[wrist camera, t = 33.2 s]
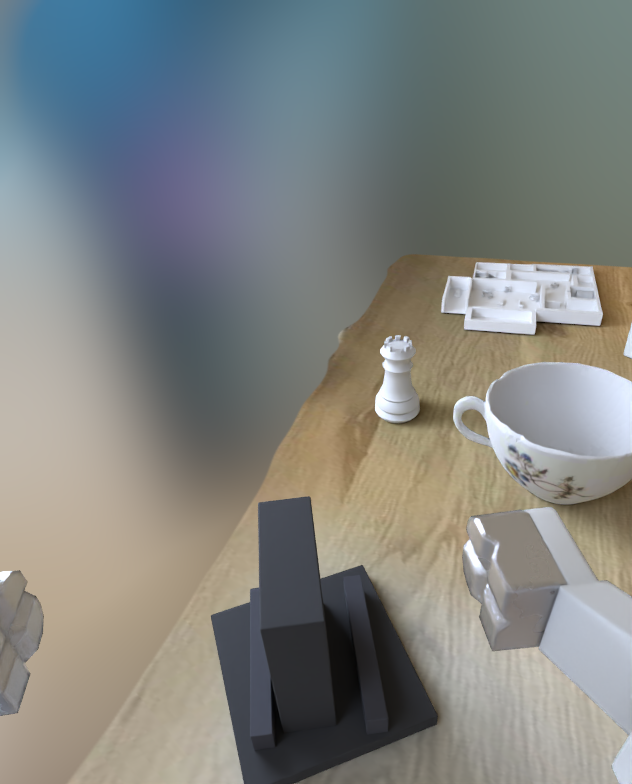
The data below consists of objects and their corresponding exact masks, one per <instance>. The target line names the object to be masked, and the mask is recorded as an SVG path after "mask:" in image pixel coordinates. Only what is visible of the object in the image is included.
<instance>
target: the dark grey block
mask: <svg viewBox="0 0 632 784" xmlns="http://www.w3.org/2000/svg"><path fill="white" fill-rule="evenodd" d="M258 528H259V600H260V632H261V637H262V641H263V645H264V650H265V654H266V658H267V663H268V667H269V671H270V676H271V680H272V684H273V689H274V693H275V697H276V702H277V706H278V711H279V715H280V719H281V724H282V728H283V732H284V733H286V732H294V731H301V730H308V729H315V728H323V727H330V726H336V725H337V721H336V712H335V703H334V694H333V685H332V676H331V667H330V658H329V649H328V640H327V631H326V623H325V614H324V606H323V598H322V589H321V581H320V573H319V564H318V556H317V548H316V540H315V531H314V523H313V515H312V506H311V498H310V497H309V496H308V497H300V498H292V499H284V500H276V501H268V502H260V503H258Z"/></svg>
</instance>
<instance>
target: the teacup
mask: <svg viewBox="0 0 632 784" xmlns="http://www.w3.org/2000/svg"><path fill="white" fill-rule="evenodd" d="M469 409H474V410H477V411H478V412H480V413H481V414H482V416H483V417H484V419H485V420H486V422H487V428H488V433H489V438H486V437H484V436H482V435H480V434H477V433H475V432H473V431H472V430H470V429H468V428H467V427H466V426H465V425H464V424H463V423H462V420H461V416H462V414H463V413H464V412H465V411H466V410H469ZM453 419H454V423H455V425H456V427H457V429H458V430H459V431H460V432H461V433H462V434H463V435H464V436H465V437H466V438H467V439H469V440H471V441H474V442H476V443H479V444H483V445H486V446H489V447H492V448H493V449H494V451H495V453H496V455H497V457H498V459H499V461H500V463H501V464H502V466H503V467H504V468H505V470H506V471H507V472H508V473H509V475H510V476H511V477H512V478H513V479H514V480H515V481H516V482H518V483H519V484H520V485H521V486H523V487H524V488H525V489H527V490H529V491H530V492H531V493H533V494H534V495H536V496H537V497H539V498H541V499H543V500H545V501H548V502H552V503H555V504H576V503H581V502H585V501H590V500H594V499H597V498H600V497H603V496H605V495H608V494H610V493H612V492H614V491H616V490H618V489H619V488H621V487H622V486H624V485H625V484H627V483H628V482H629V481H630V480H632V382H631V381H629V380H627V379H625V378H622V377H620V376H618V375H616V374H614V373H611V372H609V371H607V370H604V369H601V368H598V367H593V366H588V365H582V364H579V363H564V362H559V363H555V362H542V363H534V364H527V365H524V366H521V367H518V368H515V369H512V370H510V371H507V372H506V373H504V375H503V376H502V377H501V378H500V379H499V380H498V379H496V380H495V381H494V382H492V384H491V385H490V387H489V389H488V391H487V395H486V401H483V400H481V399H479V398H478V397H474V396H467V397H465V398H462V399H460V400H459V401H458V402H457V403H456V405H455V407H454V414H453Z"/></svg>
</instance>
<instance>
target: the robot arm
mask: <svg viewBox="0 0 632 784" xmlns="http://www.w3.org/2000/svg"><path fill="white" fill-rule="evenodd" d="M466 530H467V533H468V535H469V538H470V540H469V541H468V542H467V543H466V544H465V545H464V548H463V557H462V558H463V569H464V574H465V578H466V582H467V585H468V588H469V591H470V594H471V596H473V597H474V598H475V599H476V600H478V601H479V602H480V603H481V604H482V606H481V611H480V616H479V618H480V620H481V623H482V626H483V628H484V631H485V634H486V636H487V639H488V641H489V644H490V647H491V649H492V651H500V650H510V649H520V648H530V647H539V650H540V651H541V652H542V653H543V654H544V655H545V656H546V657H547V658H548V659H549V660H551V661H552V662H553V663H554V664H555V665H556V666H557V667H558V668H559V669H560V670H561V671H562V672H563V673H564V674H565V675H566V676H567V677H568V678H569V679H570V680H571V681H572V682H574V683H575V684H576V685H577V686H578V687H579V688H580V689H581V690H582V691H583V692H584V693H585V694H586V695H587V696H588V697H589V698H590V699H591V700H592V701H593V702H594V703H595V704H597V705H598V706H599V707H600V708H601V709H602V710H603V711H604V712H605V713H606V714H607V715H608V716H609V717H610V718H611V719H612V720H613V721H614V722H615V723H616V724H617V725H618V726H620V727H621V728H622V729H623V730H624V731H625V732H626V733H627V734H628V735H629V736H628V738H627V739H626V741H625V743H624V744H623V746H622V747H621V749H620V751H619V752H618V754H617V756H616V757H615V759H614V762H613V764H612V766H611V767H612V769H613V771H614V773H615V775H616V778H617V780H618V782H619V784H632V596H630V595H629V594H627V593H626V592H624V591H622V590H621V589H619V588H618V587H616V586H615V585H613V584H612V583H610V582H609V581H607V580H604V581H599V580H598V579H597V577H596V575H595V574H594V572H593V571H592V569H591V567H590V566H589V564H588V562H587V561H586V559H585V557H584V556H583V554H582V552H581V551H580V549H579V547H578V546H577V544H576V542H575V541H574V539H573V538H572V536H571V534H570V533H569V531H568V529H567V528H566V526H565V524H564V523H563V521H562V519H561V518H560V516H559V514H558V513H557V511H556V510H554V509H553V508H552V507H544V508H536V509H528V510H515V511H507V512H499V513H492V514H484V515H477V516H471V517H470V518H469V520H468V523H467V529H466ZM26 584H27V580H26V579H25V577H24V576H23V574H22V573H21V571H8V572H0V716H2V715H9V714H15V713H18V711H19V708H20V705H21V702H22V699H23V695H24V692H25V689H26V686H27V683H28V680H29V676H30V672H29V670H28V668H27V666H26V664H25V662H26V661H27V660H28V659H29V658H30V657H31V656H32V655H33V654H34V653H35V652H36V651H37V650H38V648H39V644H40V641H41V637H42V634H43V618H44V616H43V611H42V607H41V604H40V602H39V600H38V599H37V597H36V596H34V595H32V594H30V593H28V592H26V591H24V590H25V587H26Z"/></svg>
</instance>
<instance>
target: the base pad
mask: <svg viewBox="0 0 632 784" xmlns="http://www.w3.org/2000/svg"><path fill="white" fill-rule="evenodd" d="M320 581H321V589H322V598H323V606H324V614H325V623H326V631H327V640H328V649H329V658H330V667H331V676H332V685H333V694H334V703H335V712H336V721H337V725H336V726H330V727H323V728H315V729H308V730H301V731H294V732H286V733H284V732H283V728H282V724H281V719H280V715H279V711H278V706H277V702H276V697H275V693H274V689H273V684H272V680H271V676H270V671H269V667H268V663H267V658H266V654H265V650H264V645H263V641H262V637H261V632H260V600H259V588H253V589H250V602H249V603H246V604H243V605H240V606H237V607H234V608H231V609H228V610H225V611H222V612H219V613H216V614H213V615H211V620H212V625H213V630H214V635H215V640H216V645H217V650H218V655H219V660H220V665H221V670H222V675H223V680H224V685H225V690H226V695H227V700H228V705H229V710H230V715H231V720H232V725H233V730H234V735H235V740H236V745H237V750H238V755H239V760H240V765H241V770H242V775H243V780H244V784H293V783H295V782H298V781H300V780H302V779H305V778H307V777H310V776H312V775H315V774H317V773H319V772H322V771H324V770H327V769H329V768H332V767H334V766H336V765H339V764H341V763H344V762H346V761H349V760H351V759H353V758H356V757H358V756H361V755H363V754H365V753H368V752H370V751H373V750H375V749H378V748H380V747H382V746H385V745H387V744H390V743H392V742H395V741H397V740H399V739H402V738H404V737H407V736H409V735H412V734H414V733H416V732H419V731H421V730H424V729H426V728H429V727H431V726H433V725H436V724H437V717H438V716H437V713H436V711H435V709H434V707H433V705H432V703H431V701H430V699H429V697H428V695H427V693H426V691H425V689H424V687H423V685H422V683H421V681H420V679H419V677H418V675H417V673H416V671H415V669H414V667H413V665H412V663H411V661H410V659H409V657H408V655H407V653H406V651H405V649H404V647H403V645H402V643H401V641H400V639H399V637H398V635H397V633H396V631H395V629H394V627H393V625H392V623H391V621H390V619H389V617H388V615H387V613H386V611H385V609H384V607H383V605H382V603H381V601H380V599H379V597H378V595H377V593H376V591H375V589H374V587H373V585H372V583H371V581H370V579H369V577H368V575H367V573H366V571H365V569H364V567H363V565H361V566H358V567H355V568H352V569H349V570H346V571H343V572H340V573H337V574H334V575H331V576H328V577H325V578H322V579H320Z"/></svg>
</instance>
